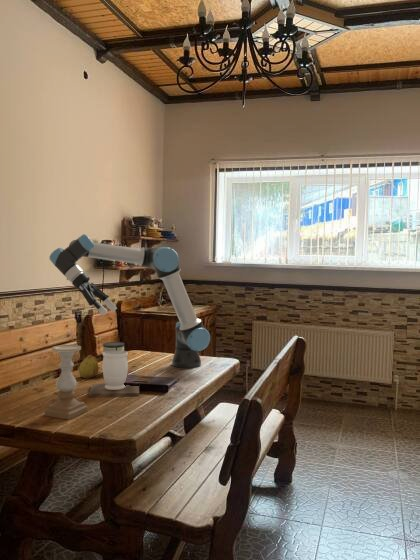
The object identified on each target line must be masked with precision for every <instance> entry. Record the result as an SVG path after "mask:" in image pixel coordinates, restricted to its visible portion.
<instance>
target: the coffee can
mask: <svg viewBox="0 0 420 560" xmlns="http://www.w3.org/2000/svg"><path fill="white" fill-rule="evenodd" d="M115 350H118V351H125V342H122V341H109V342H104V343H102V353H103V352H106V351H115ZM102 356H103V355H102ZM103 358H104V356H103V357H102V359H103Z"/></svg>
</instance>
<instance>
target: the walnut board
mask: <svg viewBox="0 0 420 560" xmlns="http://www.w3.org/2000/svg"><path fill="white" fill-rule="evenodd" d="M105 385H106V383H91V387H90V389H89V393H88V398H101V397H105V398H106V397H133V396H134V397H135V396H136V397H137V396H138V397H139V396H140V385H139V386H130V385H126V386H125V388H124V389H121V390H108V389H106V388H105Z"/></svg>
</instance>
